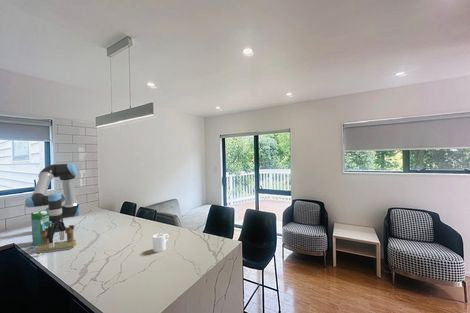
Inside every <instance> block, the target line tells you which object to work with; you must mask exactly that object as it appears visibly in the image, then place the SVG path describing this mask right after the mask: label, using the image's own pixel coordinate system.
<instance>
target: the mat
mask: <svg viewBox="0 0 470 313" xmlns="http://www.w3.org/2000/svg"><path fill="white" fill-rule="evenodd" d="M73 248H74V247H71V248H63V249H56V250H48V251H41V252H38V251H37V253H36V254H37V255H40V253H42V254H47V253H48V254H49V253H56V252H62V251H70V250H71V249H73Z"/></svg>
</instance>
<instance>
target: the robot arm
mask: <svg viewBox="0 0 470 313" xmlns="http://www.w3.org/2000/svg"><path fill="white" fill-rule="evenodd" d="M76 176H78V169H77V166H76V165H75V164H74V163H57V164H55V163H54V164H50V165H48V166H47V165H46V167H44V168H43V169H42V170H40V172H39V174H38V180H37V182H36V185H35V187H34V189H33V193H32V195H31V196H29V197H26V198H25V200H24V205H25V207H26V208H38V207H45V206H48V207H46V208H45V210H44V211H48V212H49V215H50V216H49V221H51V222H52V223H51V224H49V228H48V232H47V237H46V239H49V248H51V247H54V242H55V237H54V236H55V233H57V232H58V233H59V241H65V228H67V227H66V226H65V223H64V219H68V218H75V217H79V216H80V214H81V208H82V204H81V203H80V202H79V201H78V200H77V196H76V195H77V194H76V186H75V180H74V179H75V178H76ZM53 178H59V180H60V181H61V182H62V190H63V193H60V192H55V193H50V194H48V195H47V191H48V188H49V186H50V183H51V181H52V180H53ZM62 203H63V205H62ZM53 237H54V238H53Z"/></svg>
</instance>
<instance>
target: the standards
mask: <svg viewBox="0 0 470 313" xmlns="http://www.w3.org/2000/svg"><path fill="white" fill-rule="evenodd" d="M74 231H75V225H74V224H73V225H72V224H70V225H68V227H66V228H65V231H64V235H65V234H66V241H70V240H75V239H74ZM47 232H48V228H45V230H42V231H40V236H42V244H46V243H49V239H46V237H47Z"/></svg>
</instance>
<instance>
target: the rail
mask: <svg viewBox="0 0 470 313" xmlns="http://www.w3.org/2000/svg"><path fill="white" fill-rule="evenodd" d="M36 246H37V253H38V252H41V251H48V250H56V249H63V248H71V247H73V248H74V247H76V246H77V241H76V239H74V240H70V241H67V240H61V241H57V242H55V241H54V247H51V248H49V243H46V244H40V245H36Z"/></svg>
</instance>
